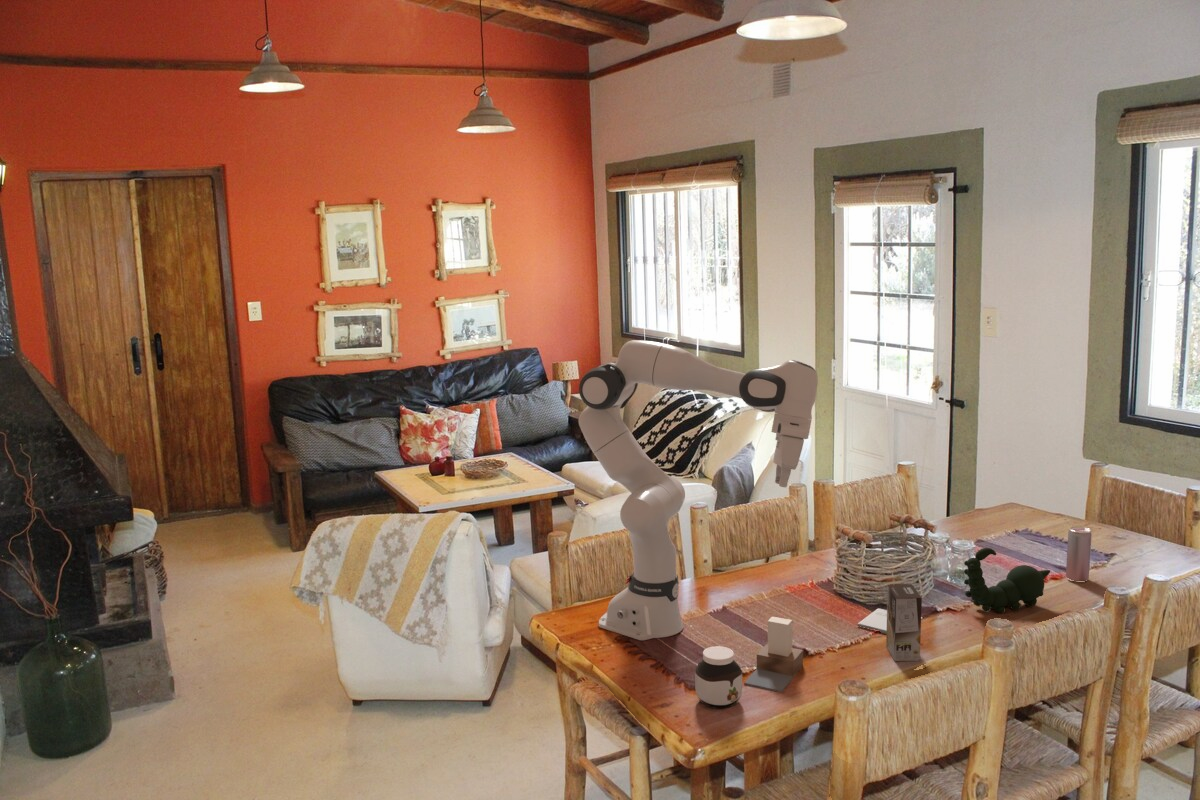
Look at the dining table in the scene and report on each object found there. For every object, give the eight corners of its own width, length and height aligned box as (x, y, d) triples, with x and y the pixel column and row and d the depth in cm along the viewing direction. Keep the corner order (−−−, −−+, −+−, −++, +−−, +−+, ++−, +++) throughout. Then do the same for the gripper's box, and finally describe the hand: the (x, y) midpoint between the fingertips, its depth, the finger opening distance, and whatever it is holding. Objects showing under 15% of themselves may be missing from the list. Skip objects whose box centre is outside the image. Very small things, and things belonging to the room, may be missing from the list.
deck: (756, 670, 242) (756, 654, 241) (767, 658, 248) (767, 643, 247) (793, 677, 237) (793, 661, 236) (802, 665, 243) (803, 649, 242)
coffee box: (921, 661, 244) (923, 598, 240) (894, 661, 244) (895, 598, 241) (910, 644, 253) (912, 583, 249) (884, 645, 253) (886, 584, 250)
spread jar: (708, 714, 222) (707, 664, 220) (682, 692, 232) (681, 644, 230) (754, 701, 227) (754, 652, 225) (727, 680, 237) (726, 633, 235)
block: (767, 652, 242) (767, 621, 240) (772, 647, 244) (772, 616, 243) (787, 656, 239) (788, 624, 238) (792, 651, 242) (792, 620, 240)
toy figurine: (980, 626, 266) (1062, 605, 272) (977, 558, 262) (1061, 539, 268) (959, 612, 275) (1039, 593, 281) (956, 546, 271) (1037, 528, 276)
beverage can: (1062, 575, 294) (1065, 526, 291) (1084, 576, 293) (1087, 526, 290) (1069, 583, 288) (1072, 532, 285) (1091, 583, 288) (1094, 533, 285)
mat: (744, 684, 235) (744, 682, 235) (756, 670, 242) (756, 668, 242) (781, 692, 230) (781, 690, 230) (793, 677, 237) (793, 676, 237)
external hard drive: (857, 629, 264) (877, 613, 274) (887, 636, 259) (906, 620, 268) (857, 623, 264) (877, 607, 273) (887, 630, 259) (906, 614, 268)
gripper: (773, 425, 255) (763, 479, 255) (782, 427, 234) (771, 486, 234) (798, 430, 254) (788, 484, 254) (809, 432, 234) (798, 491, 234)
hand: (780, 485), depth 244 cm, fingers open, 8 cm apart
